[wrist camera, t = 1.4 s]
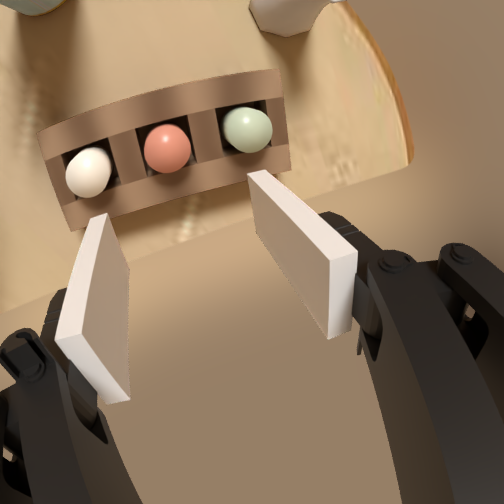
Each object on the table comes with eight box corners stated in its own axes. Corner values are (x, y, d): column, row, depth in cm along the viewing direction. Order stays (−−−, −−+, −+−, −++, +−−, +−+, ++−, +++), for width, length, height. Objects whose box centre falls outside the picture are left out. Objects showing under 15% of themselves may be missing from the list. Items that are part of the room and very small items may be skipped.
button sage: (223, 148, 29) (232, 157, 26) (216, 110, 26) (225, 113, 24) (262, 140, 29) (274, 148, 26) (256, 102, 27) (269, 106, 24)
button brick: (150, 167, 27) (150, 178, 24) (140, 129, 25) (139, 135, 22) (190, 156, 28) (195, 166, 25) (181, 118, 26) (185, 122, 23)
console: (78, 215, 29) (71, 231, 26) (49, 126, 24) (36, 133, 21) (276, 160, 33) (291, 170, 30) (264, 69, 28) (279, 68, 24)
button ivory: (81, 189, 26) (74, 203, 23) (69, 153, 24) (59, 162, 21) (118, 177, 27) (114, 189, 24) (107, 139, 25) (101, 147, 22)
